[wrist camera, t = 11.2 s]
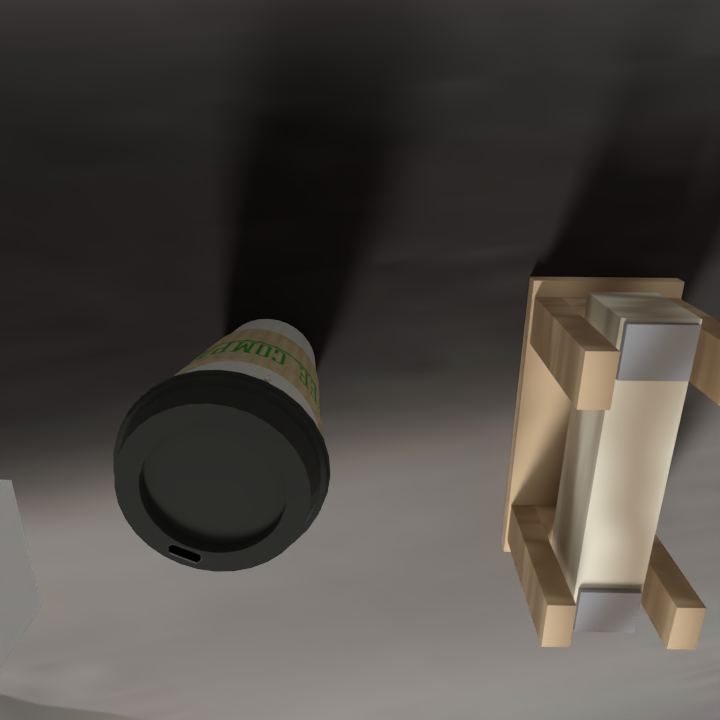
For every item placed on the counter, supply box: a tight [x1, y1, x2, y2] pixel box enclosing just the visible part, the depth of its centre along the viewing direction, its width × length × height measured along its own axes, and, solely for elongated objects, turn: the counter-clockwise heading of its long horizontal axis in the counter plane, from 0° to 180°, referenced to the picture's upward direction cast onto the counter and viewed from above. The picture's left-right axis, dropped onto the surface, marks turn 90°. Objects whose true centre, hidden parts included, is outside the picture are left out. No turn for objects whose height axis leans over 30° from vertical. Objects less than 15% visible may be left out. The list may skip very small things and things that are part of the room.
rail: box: [551, 292, 702, 633], centre depth 36 cm, size 4×20×5 cm, turn 0°
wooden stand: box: [501, 277, 720, 650], centre depth 36 cm, size 9×20×10 cm, turn 0°
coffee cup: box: [114, 319, 330, 571], centre depth 33 cm, size 10×10×15 cm
